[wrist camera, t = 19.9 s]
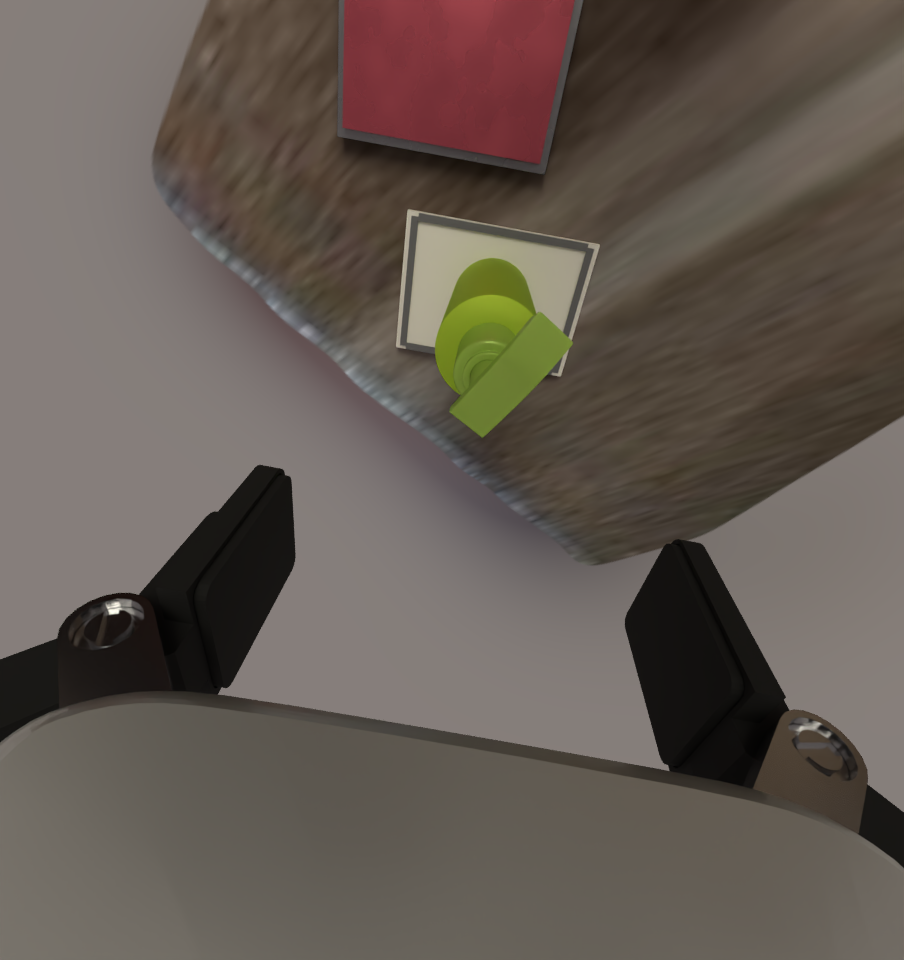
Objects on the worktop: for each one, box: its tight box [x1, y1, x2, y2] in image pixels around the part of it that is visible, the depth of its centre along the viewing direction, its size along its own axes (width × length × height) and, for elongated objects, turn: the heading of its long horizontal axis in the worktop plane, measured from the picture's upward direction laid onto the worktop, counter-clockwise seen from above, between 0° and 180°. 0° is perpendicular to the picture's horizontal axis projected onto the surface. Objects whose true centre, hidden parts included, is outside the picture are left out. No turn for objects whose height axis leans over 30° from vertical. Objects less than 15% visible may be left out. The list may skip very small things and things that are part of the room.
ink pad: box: [337, 0, 583, 175], centre depth 28 cm, size 9×14×2 cm, turn 81°
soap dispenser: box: [435, 258, 573, 438], centre depth 27 cm, size 6×7×20 cm
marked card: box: [396, 209, 600, 377], centre depth 36 cm, size 10×14×1 cm
